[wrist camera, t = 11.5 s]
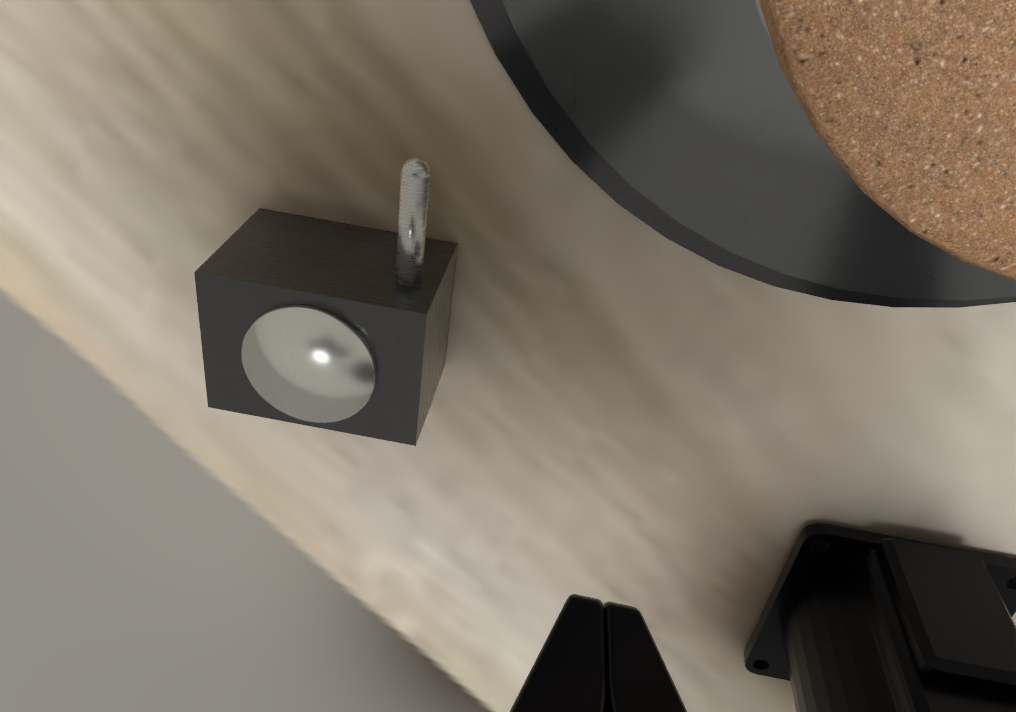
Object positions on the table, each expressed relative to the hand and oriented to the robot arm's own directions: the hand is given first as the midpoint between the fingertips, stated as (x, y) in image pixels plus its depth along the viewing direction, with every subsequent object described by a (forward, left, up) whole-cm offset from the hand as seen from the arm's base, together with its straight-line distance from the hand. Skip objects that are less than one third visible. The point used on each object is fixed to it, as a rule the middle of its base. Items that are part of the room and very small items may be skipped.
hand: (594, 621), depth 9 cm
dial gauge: (-1, +6, -11) cm, 13 cm away
